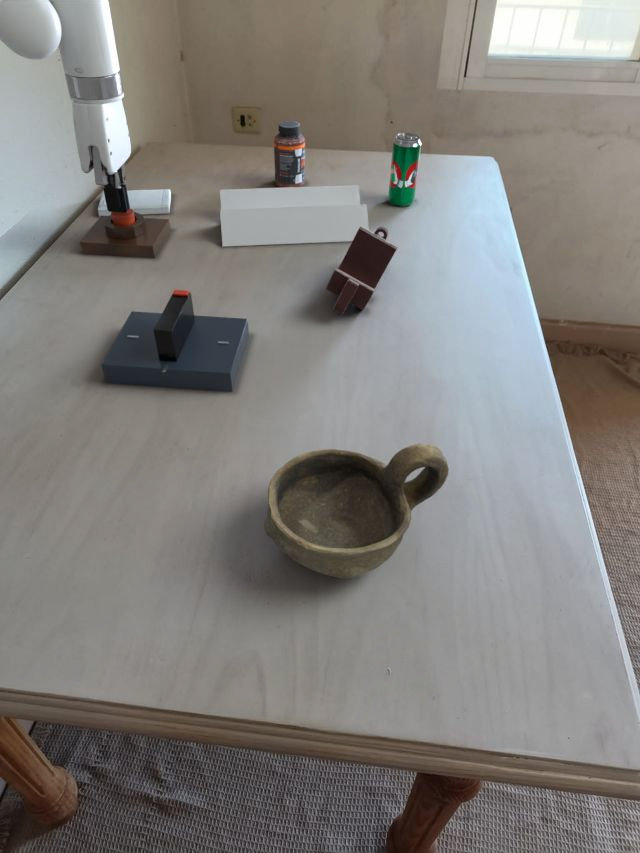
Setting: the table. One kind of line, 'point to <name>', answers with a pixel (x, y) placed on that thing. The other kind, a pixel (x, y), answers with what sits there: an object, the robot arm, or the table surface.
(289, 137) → the supplement bottle
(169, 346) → the black rectangular block
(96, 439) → the table surface
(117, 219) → the button
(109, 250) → the button base
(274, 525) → the bowl
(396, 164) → the soda can
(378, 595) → the table surface
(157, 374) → the lever switch
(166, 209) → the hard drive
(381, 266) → the bracket
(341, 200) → the z bracket
